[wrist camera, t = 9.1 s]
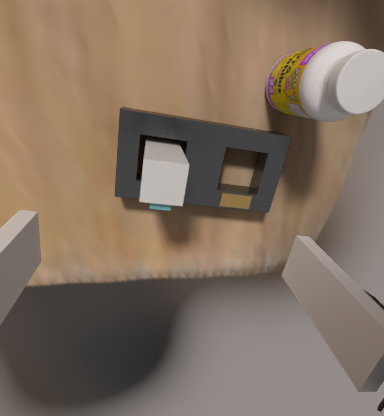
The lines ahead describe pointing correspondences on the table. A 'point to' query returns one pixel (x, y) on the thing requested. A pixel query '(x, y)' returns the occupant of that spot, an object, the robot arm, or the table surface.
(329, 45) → the supplement bottle
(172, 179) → the plug
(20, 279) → the robot arm
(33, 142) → the table surface
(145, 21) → the table surface
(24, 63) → the table surface
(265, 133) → the panel
